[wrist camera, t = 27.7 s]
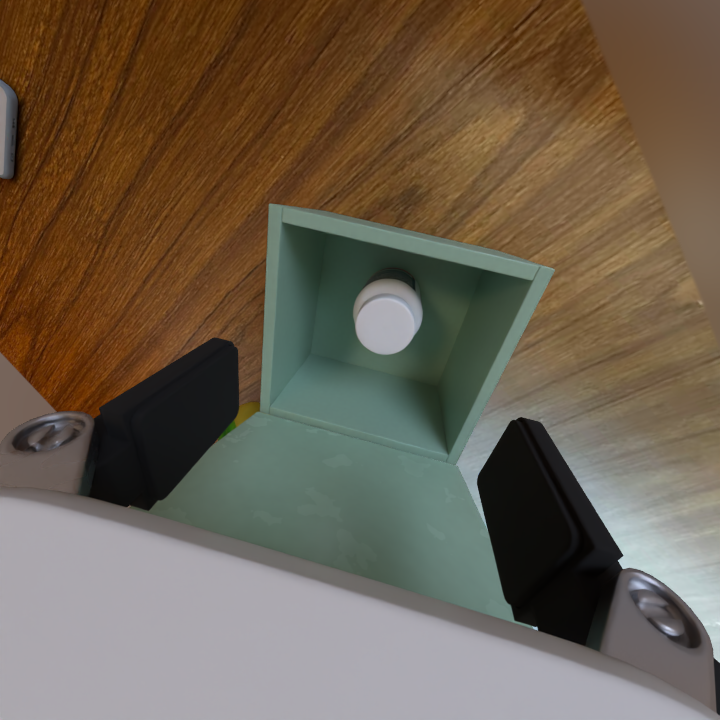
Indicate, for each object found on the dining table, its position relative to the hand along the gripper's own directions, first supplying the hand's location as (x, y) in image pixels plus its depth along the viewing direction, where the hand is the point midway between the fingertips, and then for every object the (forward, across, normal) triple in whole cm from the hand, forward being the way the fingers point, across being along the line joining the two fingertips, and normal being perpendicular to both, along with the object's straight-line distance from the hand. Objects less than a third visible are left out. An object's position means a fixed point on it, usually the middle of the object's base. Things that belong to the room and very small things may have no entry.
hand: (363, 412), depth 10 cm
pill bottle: (+19, 0, +1) cm, 19 cm away
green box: (+20, 0, +2) cm, 20 cm away
